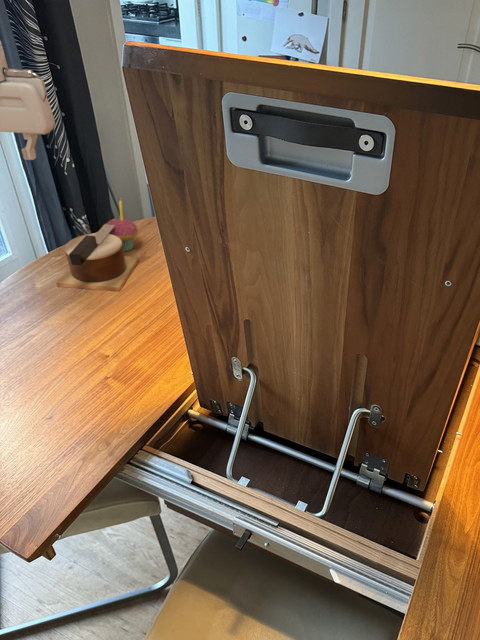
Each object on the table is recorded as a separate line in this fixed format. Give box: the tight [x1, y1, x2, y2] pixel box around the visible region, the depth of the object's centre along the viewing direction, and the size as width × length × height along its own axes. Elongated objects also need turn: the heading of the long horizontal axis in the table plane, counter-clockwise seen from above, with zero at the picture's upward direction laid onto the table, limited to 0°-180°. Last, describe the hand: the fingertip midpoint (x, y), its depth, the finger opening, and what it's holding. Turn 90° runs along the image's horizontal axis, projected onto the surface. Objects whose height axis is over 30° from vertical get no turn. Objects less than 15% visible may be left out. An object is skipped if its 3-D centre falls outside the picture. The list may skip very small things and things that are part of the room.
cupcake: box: [105, 197, 139, 253], centre depth 124 cm, size 9×8×12 cm
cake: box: [55, 232, 140, 292], centre depth 115 cm, size 14×14×7 cm
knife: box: [69, 223, 115, 265], centre depth 113 cm, size 20×3×2 cm, turn 174°
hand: (4, 157), depth 91 cm, fingers open, 8 cm apart
